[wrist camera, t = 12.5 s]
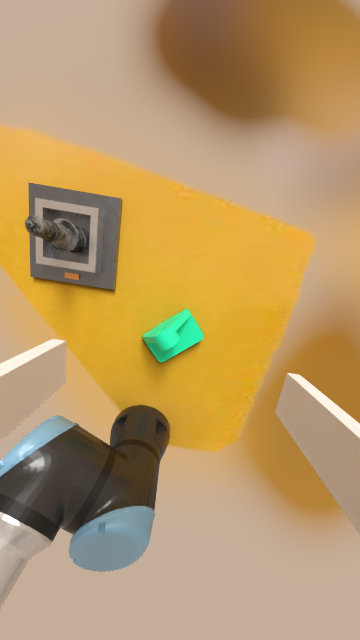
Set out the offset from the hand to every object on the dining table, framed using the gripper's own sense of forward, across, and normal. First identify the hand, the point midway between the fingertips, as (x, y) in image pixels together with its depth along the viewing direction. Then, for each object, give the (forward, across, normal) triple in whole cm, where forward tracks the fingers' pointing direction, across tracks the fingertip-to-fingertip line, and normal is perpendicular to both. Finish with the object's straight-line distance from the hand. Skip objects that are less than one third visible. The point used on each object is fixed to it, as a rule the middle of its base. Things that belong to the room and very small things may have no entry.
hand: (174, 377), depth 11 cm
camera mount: (+32, 0, +7) cm, 33 cm away
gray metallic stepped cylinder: (+31, +24, -10) cm, 40 cm away
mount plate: (+32, +24, -10) cm, 41 cm away
